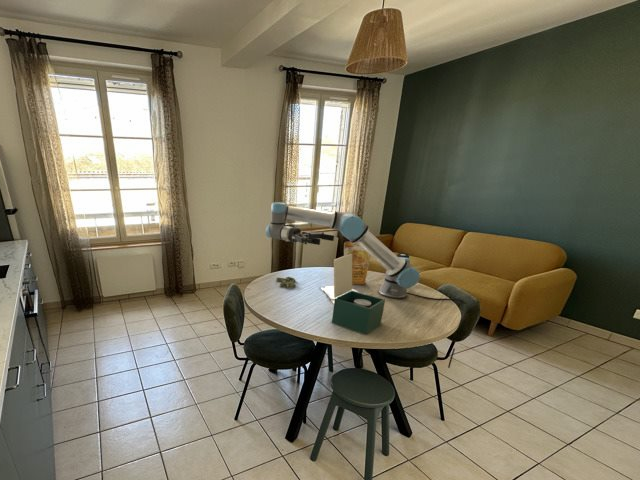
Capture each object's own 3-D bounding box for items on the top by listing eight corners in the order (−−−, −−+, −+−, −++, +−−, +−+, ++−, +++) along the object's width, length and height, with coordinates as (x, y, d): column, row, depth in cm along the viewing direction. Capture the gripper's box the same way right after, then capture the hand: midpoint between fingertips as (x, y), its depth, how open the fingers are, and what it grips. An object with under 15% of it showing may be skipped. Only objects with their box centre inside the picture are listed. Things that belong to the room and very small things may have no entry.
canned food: (366, 327, 156) (369, 306, 152) (349, 323, 160) (352, 302, 156) (369, 321, 162) (373, 301, 158) (353, 317, 166) (356, 297, 162)
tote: (380, 323, 162) (385, 299, 157) (365, 334, 151) (370, 309, 146) (347, 313, 173) (351, 290, 169) (331, 322, 162) (334, 298, 158)
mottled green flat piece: (275, 279, 225) (276, 276, 225) (293, 279, 226) (293, 276, 225) (280, 288, 209) (280, 285, 208) (298, 288, 209) (298, 285, 208)
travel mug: (404, 285, 216) (411, 255, 209) (392, 284, 218) (398, 255, 210) (402, 281, 223) (407, 253, 216) (390, 281, 225) (395, 252, 217)
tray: (350, 287, 212) (351, 281, 210) (369, 305, 186) (370, 299, 185) (319, 287, 211) (320, 282, 209) (333, 306, 185) (334, 300, 183)
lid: (352, 253, 163) (350, 253, 164) (335, 259, 152) (333, 259, 153) (352, 289, 168) (350, 289, 169) (335, 297, 157) (334, 297, 158)
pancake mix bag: (337, 281, 223) (342, 240, 212) (364, 281, 224) (371, 240, 213) (340, 284, 216) (346, 242, 206) (368, 284, 217) (375, 242, 207)
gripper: (303, 238, 185) (337, 243, 172) (276, 244, 169) (312, 251, 155) (304, 224, 183) (339, 229, 169) (277, 230, 166) (314, 235, 152)
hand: (326, 240), depth 162 cm, fingers open, 13 cm apart
